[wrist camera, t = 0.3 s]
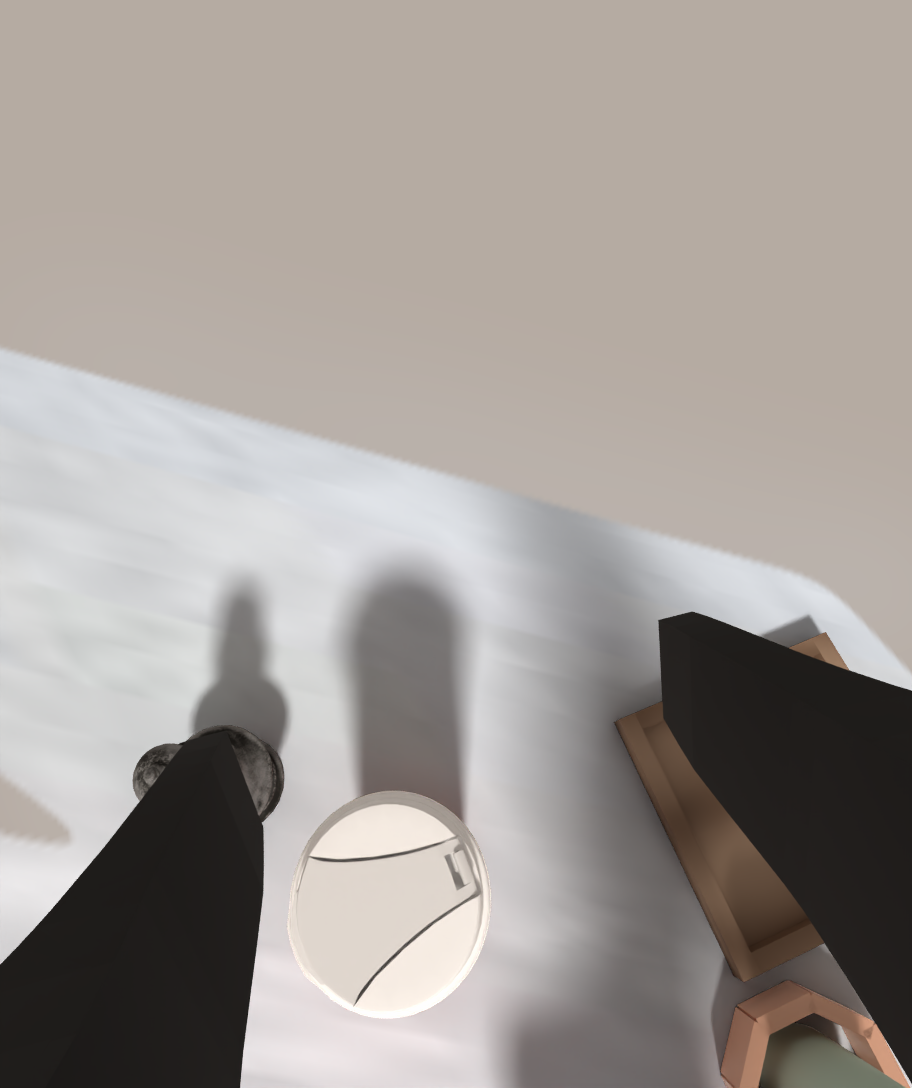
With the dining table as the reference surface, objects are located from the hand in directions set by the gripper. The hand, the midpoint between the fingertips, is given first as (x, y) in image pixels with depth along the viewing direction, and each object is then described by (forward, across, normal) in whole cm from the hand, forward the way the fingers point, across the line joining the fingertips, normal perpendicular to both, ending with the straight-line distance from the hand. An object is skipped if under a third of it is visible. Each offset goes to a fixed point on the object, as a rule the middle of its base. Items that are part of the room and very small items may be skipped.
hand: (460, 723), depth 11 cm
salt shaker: (+24, +12, +19) cm, 33 cm away
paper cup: (+19, +3, +24) cm, 31 cm away
